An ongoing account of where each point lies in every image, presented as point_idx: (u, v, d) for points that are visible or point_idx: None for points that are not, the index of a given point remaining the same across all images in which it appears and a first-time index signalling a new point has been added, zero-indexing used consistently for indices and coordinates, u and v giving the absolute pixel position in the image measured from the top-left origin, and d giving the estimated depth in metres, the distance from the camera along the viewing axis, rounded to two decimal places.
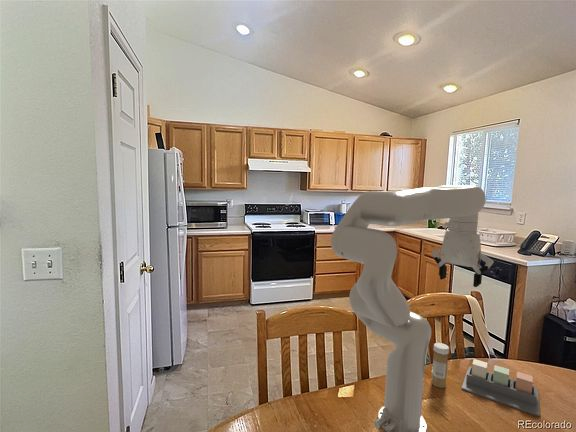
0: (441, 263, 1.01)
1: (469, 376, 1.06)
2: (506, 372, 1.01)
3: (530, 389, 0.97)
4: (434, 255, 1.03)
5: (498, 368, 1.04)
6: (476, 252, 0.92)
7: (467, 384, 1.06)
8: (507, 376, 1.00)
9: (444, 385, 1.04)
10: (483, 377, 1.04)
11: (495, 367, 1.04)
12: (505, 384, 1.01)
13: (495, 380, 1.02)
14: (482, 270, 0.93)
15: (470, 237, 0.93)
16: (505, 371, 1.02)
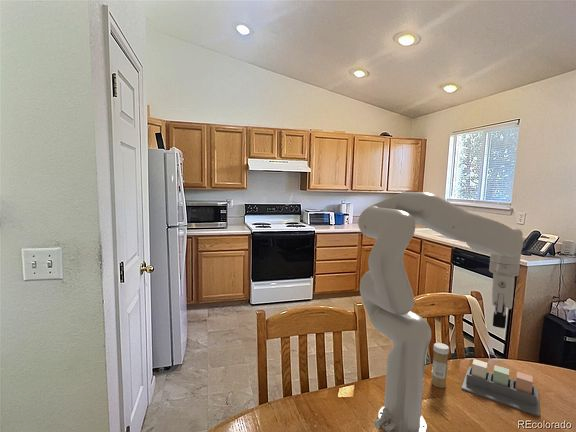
0: (505, 312, 0.96)
1: (469, 376, 1.06)
2: (506, 372, 1.01)
3: (530, 389, 0.97)
4: (502, 311, 0.94)
5: (498, 368, 1.04)
6: None
7: (467, 384, 1.06)
8: (507, 376, 1.00)
9: (444, 385, 1.04)
10: (483, 377, 1.04)
11: (495, 367, 1.04)
12: (505, 384, 1.01)
13: (495, 380, 1.02)
14: None
15: None
16: (505, 371, 1.02)
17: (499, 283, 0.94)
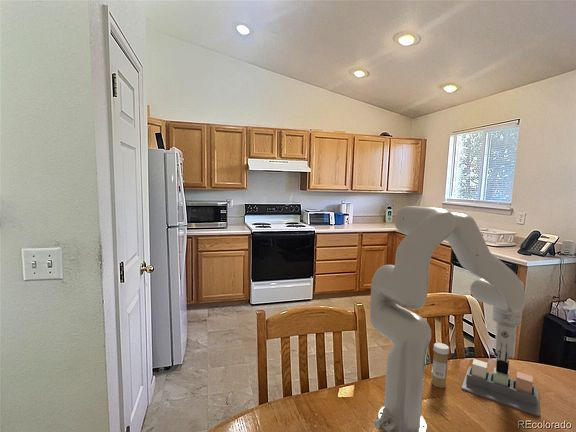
0: None
1: (469, 376, 1.06)
2: None
3: (530, 389, 0.97)
4: (505, 359, 0.99)
5: None
6: None
7: (467, 384, 1.06)
8: (507, 378, 1.00)
9: (444, 385, 1.04)
10: (483, 377, 1.04)
11: (495, 369, 1.04)
12: None
13: (495, 382, 1.02)
14: None
15: None
16: None
17: (502, 332, 0.99)
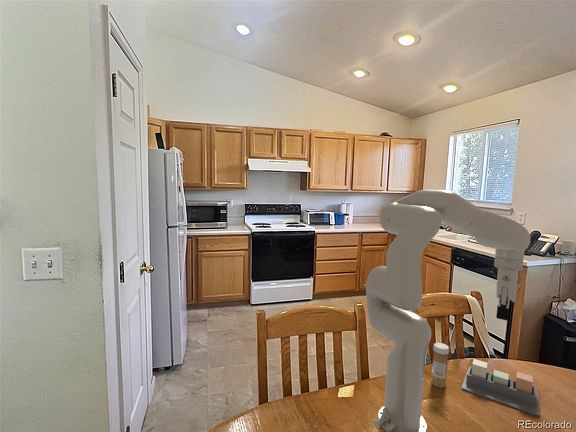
0: (508, 305, 1.02)
1: (469, 376, 1.06)
2: (506, 377, 1.02)
3: (530, 389, 0.97)
4: (505, 303, 1.00)
5: (497, 373, 1.04)
6: None
7: (467, 384, 1.06)
8: (507, 381, 1.01)
9: (444, 385, 1.04)
10: (483, 377, 1.04)
11: (495, 372, 1.04)
12: None
13: None
14: None
15: None
16: (505, 375, 1.02)
17: (503, 277, 1.00)
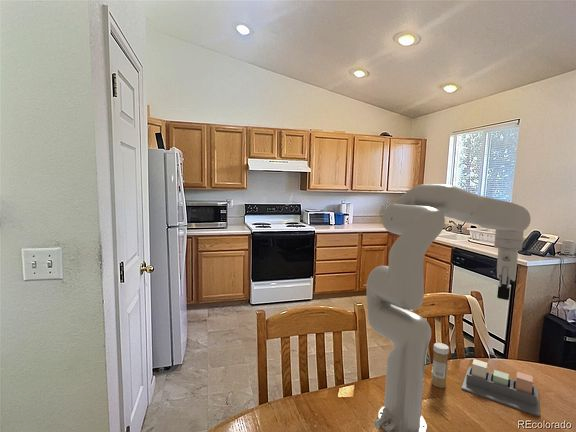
0: (509, 284, 1.04)
1: (469, 376, 1.06)
2: (506, 377, 1.02)
3: (530, 389, 0.97)
4: (506, 283, 1.02)
5: (497, 373, 1.04)
6: None
7: (467, 384, 1.06)
8: (507, 381, 1.01)
9: (444, 385, 1.04)
10: (483, 377, 1.04)
11: (495, 372, 1.04)
12: None
13: None
14: None
15: None
16: (505, 375, 1.02)
17: (503, 257, 1.02)
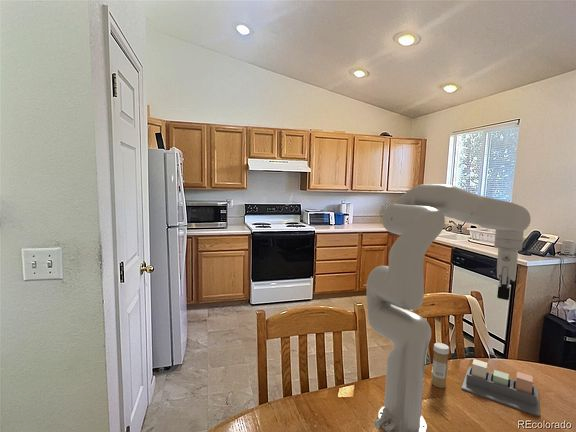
0: (509, 284, 1.04)
1: (469, 376, 1.06)
2: (506, 377, 1.02)
3: (530, 389, 0.97)
4: (506, 283, 1.02)
5: (497, 373, 1.04)
6: None
7: (467, 384, 1.06)
8: (507, 381, 1.01)
9: (444, 385, 1.04)
10: (483, 377, 1.04)
11: (495, 372, 1.04)
12: None
13: None
14: None
15: None
16: (505, 375, 1.02)
17: (503, 257, 1.02)
